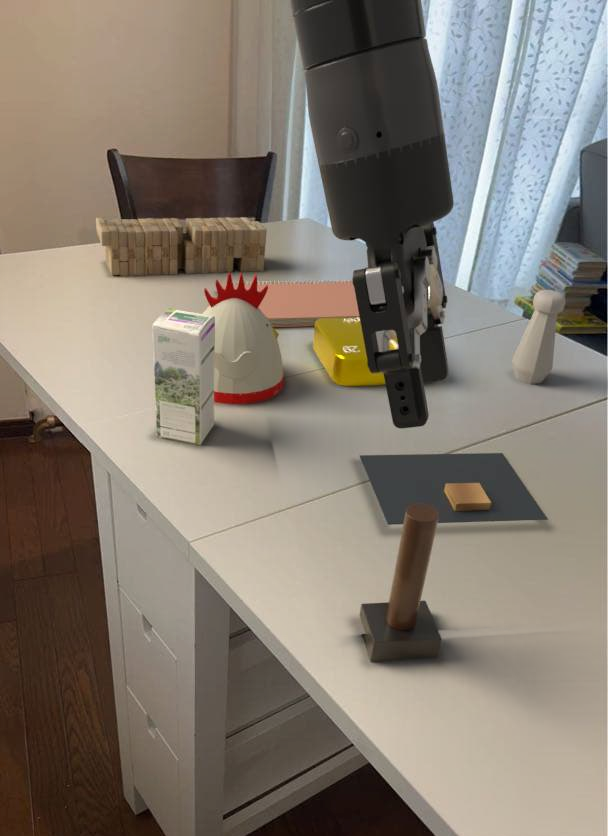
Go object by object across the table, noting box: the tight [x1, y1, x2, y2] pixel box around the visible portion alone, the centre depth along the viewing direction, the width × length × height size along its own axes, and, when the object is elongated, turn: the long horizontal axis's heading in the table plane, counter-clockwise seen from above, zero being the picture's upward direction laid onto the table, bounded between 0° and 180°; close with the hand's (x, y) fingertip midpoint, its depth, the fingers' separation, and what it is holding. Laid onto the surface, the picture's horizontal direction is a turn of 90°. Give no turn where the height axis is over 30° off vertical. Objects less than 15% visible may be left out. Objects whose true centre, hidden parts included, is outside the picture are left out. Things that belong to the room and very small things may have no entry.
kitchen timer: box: [202, 272, 285, 405], centre depth 106 cm, size 14×14×15 cm
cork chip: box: [444, 483, 491, 511], centre depth 88 cm, size 4×4×1 cm
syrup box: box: [151, 308, 215, 446], centre depth 94 cm, size 6×6×14 cm
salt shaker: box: [511, 289, 566, 385], centre depth 115 cm, size 6×6×13 cm
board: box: [359, 452, 548, 525], centre depth 91 cm, size 18×14×1 cm
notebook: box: [220, 279, 382, 328], centre depth 134 cm, size 27×17×2 cm, turn 105°
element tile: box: [312, 317, 428, 387], centre depth 117 cm, size 15×15×5 cm
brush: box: [359, 503, 442, 663], centre depth 67 cm, size 6×5×14 cm
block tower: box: [95, 216, 268, 277], centre depth 144 cm, size 8×8×29 cm
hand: (423, 401), depth 54 cm, fingers open, 8 cm apart
